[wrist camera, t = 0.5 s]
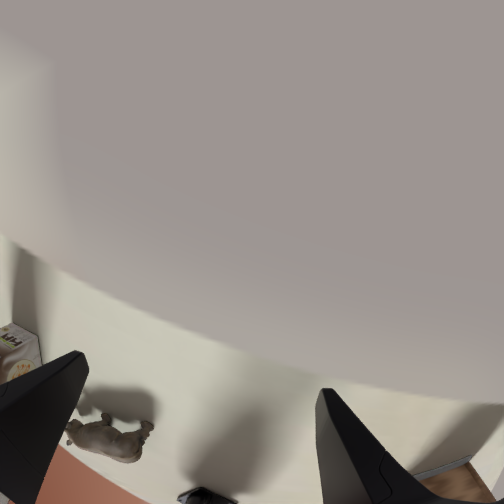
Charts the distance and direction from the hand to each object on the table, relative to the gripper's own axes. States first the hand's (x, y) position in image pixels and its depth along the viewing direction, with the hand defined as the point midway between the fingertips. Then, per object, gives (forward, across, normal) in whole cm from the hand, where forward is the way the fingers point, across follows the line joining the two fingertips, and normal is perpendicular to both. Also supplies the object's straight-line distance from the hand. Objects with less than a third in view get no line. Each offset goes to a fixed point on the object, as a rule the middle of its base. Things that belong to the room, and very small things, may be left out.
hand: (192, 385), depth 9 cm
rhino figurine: (+11, +15, +23) cm, 29 cm away
